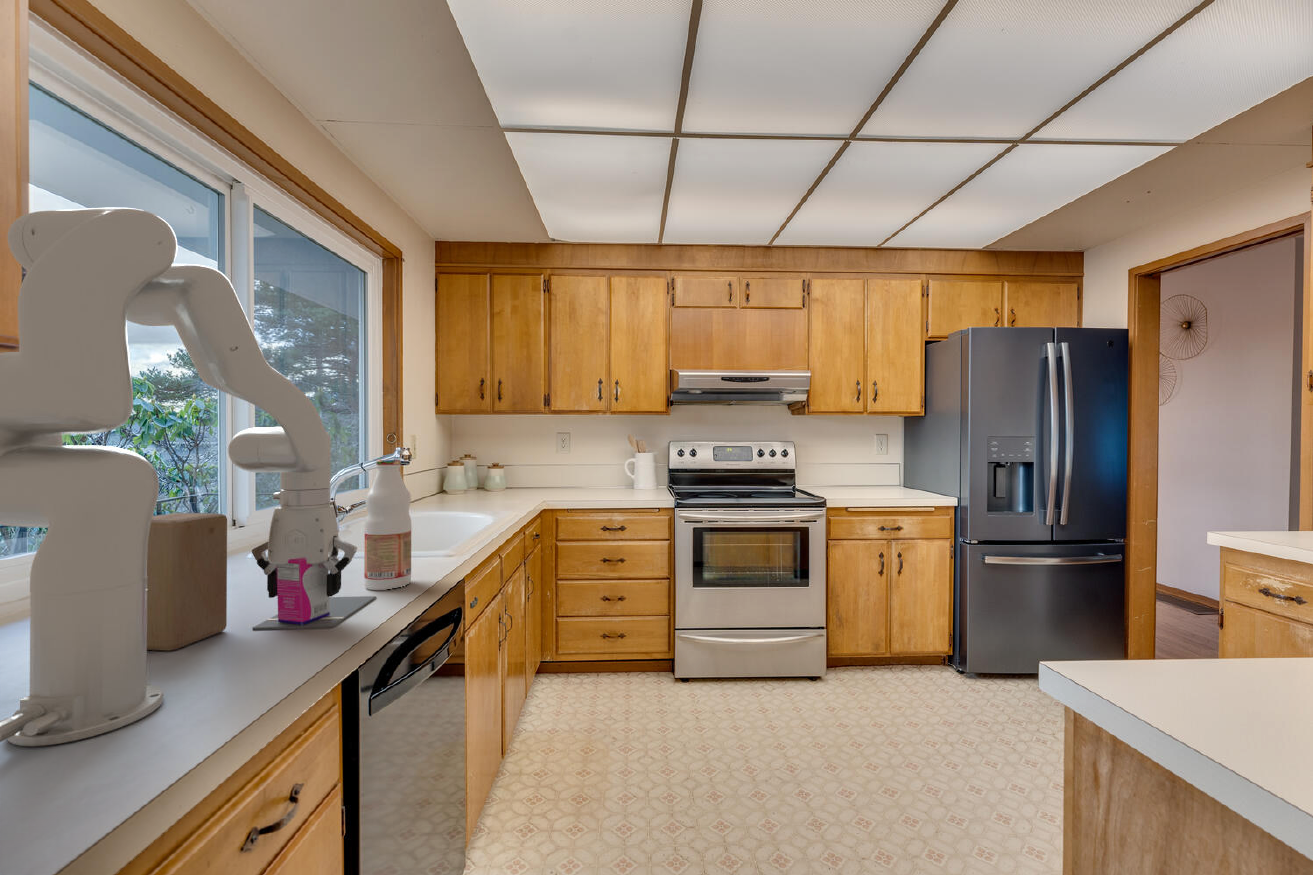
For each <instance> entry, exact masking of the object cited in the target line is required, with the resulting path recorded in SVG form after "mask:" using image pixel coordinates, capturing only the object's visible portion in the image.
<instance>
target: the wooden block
mask: <svg viewBox="0 0 1313 875" xmlns="http://www.w3.org/2000/svg"><path fill="white" fill-rule="evenodd" d="M227 564H228V518H227V515H224V514H222V513H215V512H214V513H213V512H211V513H207V512H206V513H205V512H203V513H202V512H201V513H200V512H198V513H197V512H172V513H166V514H157V515H153V517H152V522H151V526H150V532H149V539H148V553H147V651H148V650H150V651H170V652H171V651H175V650H178V649H180V648H183V647H186V646H188V645H191V644H194V643H196V642H199V641H201V640H203V639H206V638H209V637H211V636H214V635H216V634H219V633H221V632H223V631H225V630H226V628H227V623H228V622H227V621H228V620H227V619H228V617H227V615H228V614H227V610H228V609H227V608H228V605H227V604H228V603H227V598H228V596H227V595H228V593H227V592H228V591H227V590H228V588H227V587H228V569H227V568H228V565H227Z"/></svg>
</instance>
